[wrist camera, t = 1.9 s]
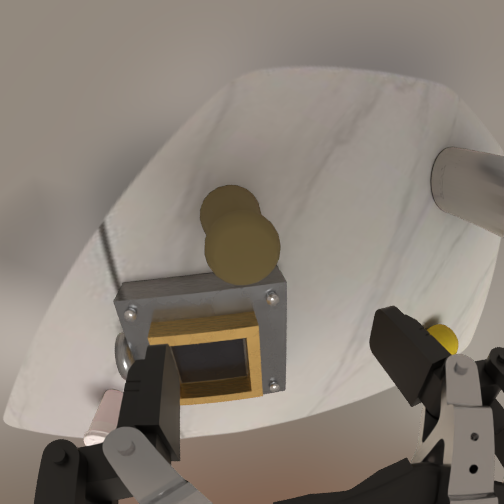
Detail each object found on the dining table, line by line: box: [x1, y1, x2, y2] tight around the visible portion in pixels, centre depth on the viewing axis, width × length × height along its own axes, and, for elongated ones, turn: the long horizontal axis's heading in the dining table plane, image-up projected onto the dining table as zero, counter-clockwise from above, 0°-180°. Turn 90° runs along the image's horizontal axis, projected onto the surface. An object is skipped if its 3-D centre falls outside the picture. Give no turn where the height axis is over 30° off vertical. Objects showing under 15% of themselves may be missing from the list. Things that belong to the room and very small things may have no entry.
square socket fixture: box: [113, 265, 287, 405], centre depth 30 cm, size 19×16×6 cm
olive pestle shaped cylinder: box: [200, 185, 280, 285], centre depth 23 cm, size 6×6×11 cm
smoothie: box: [84, 389, 123, 446], centre depth 29 cm, size 6×6×14 cm
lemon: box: [427, 324, 458, 355], centre depth 37 cm, size 6×6×8 cm
